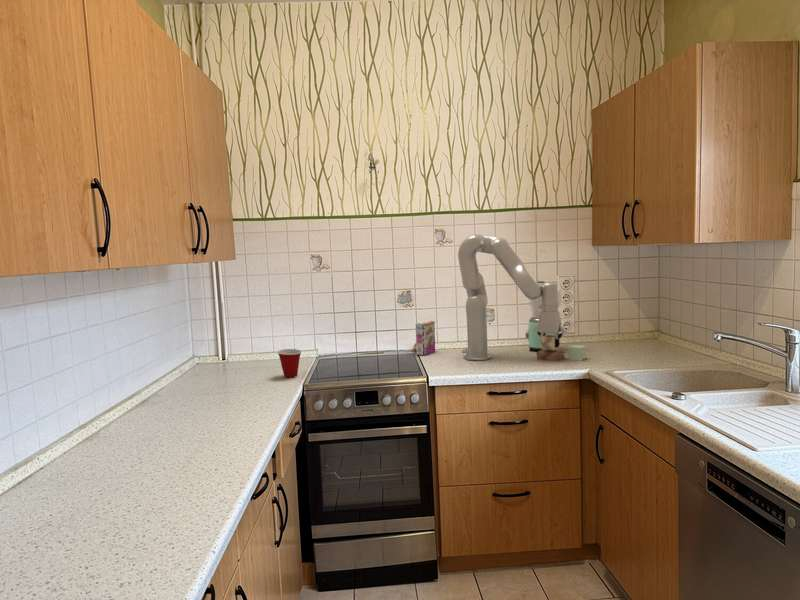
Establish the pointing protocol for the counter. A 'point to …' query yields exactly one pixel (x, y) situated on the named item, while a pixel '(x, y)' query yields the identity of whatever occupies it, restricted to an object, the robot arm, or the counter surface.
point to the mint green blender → (533, 322)
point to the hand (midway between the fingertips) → (550, 346)
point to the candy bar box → (425, 338)
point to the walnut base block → (550, 355)
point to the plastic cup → (289, 361)
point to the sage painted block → (577, 352)
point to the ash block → (548, 342)
